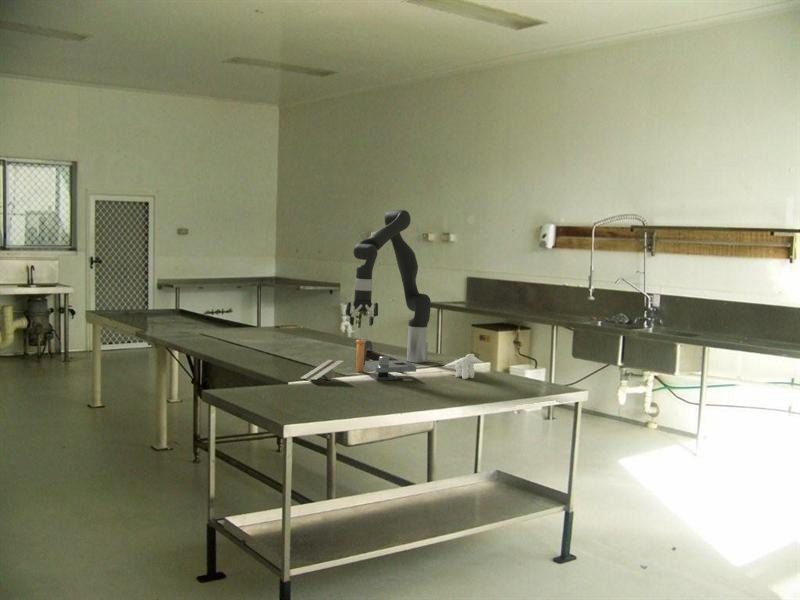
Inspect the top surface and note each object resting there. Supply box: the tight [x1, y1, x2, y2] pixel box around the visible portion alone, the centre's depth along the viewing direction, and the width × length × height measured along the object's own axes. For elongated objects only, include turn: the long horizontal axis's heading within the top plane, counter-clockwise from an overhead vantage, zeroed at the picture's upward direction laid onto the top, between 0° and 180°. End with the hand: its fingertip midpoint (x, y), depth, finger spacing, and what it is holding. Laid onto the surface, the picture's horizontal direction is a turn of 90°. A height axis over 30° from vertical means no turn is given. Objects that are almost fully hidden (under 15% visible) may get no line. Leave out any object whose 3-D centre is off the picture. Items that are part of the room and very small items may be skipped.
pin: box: [355, 339, 366, 373], centre depth 375 cm, size 4×4×14 cm
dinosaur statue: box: [442, 353, 484, 380], centre depth 374 cm, size 7×24×11 cm, turn 44°
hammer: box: [355, 338, 400, 364], centre depth 389 cm, size 5×11×30 cm
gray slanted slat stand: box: [300, 359, 344, 382], centre depth 352 cm, size 16×9×15 cm
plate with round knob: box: [364, 355, 417, 381], centre depth 365 cm, size 18×16×9 cm
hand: (361, 325), depth 374 cm, fingers open, 8 cm apart
